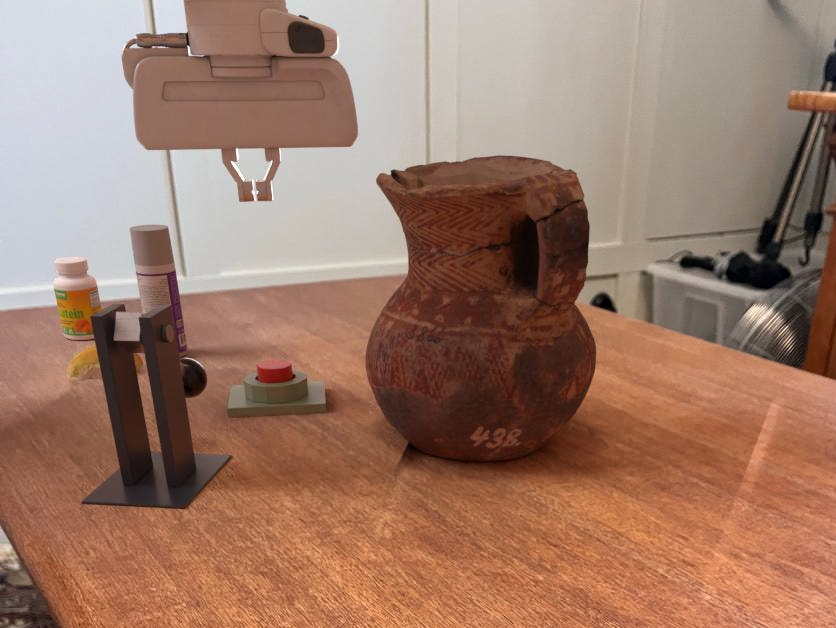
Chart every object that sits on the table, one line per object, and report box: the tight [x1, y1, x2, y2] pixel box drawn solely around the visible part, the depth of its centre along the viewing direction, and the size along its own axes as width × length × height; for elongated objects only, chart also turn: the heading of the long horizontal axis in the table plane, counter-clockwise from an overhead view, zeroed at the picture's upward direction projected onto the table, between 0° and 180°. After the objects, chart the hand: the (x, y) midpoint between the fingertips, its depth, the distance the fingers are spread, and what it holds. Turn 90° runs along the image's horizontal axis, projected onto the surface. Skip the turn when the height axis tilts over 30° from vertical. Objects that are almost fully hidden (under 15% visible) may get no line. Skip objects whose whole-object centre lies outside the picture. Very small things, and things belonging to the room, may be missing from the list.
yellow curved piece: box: [66, 344, 144, 386], centre depth 118 cm, size 8×9×4 cm
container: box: [129, 224, 189, 358], centre depth 124 cm, size 5×5×15 cm
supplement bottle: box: [52, 256, 103, 341], centre depth 133 cm, size 5×5×10 cm
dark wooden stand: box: [81, 303, 233, 510], centre depth 86 cm, size 12×9×16 cm
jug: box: [364, 154, 597, 463], centre depth 95 cm, size 22×21×25 cm
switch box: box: [226, 368, 328, 418], centre depth 107 cm, size 10×8×4 cm
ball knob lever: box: [114, 311, 208, 399], centre depth 88 cm, size 14×4×4 cm
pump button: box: [256, 359, 293, 383], centre depth 106 cm, size 4×4×2 cm
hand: (256, 200), depth 97 cm, fingers closed
